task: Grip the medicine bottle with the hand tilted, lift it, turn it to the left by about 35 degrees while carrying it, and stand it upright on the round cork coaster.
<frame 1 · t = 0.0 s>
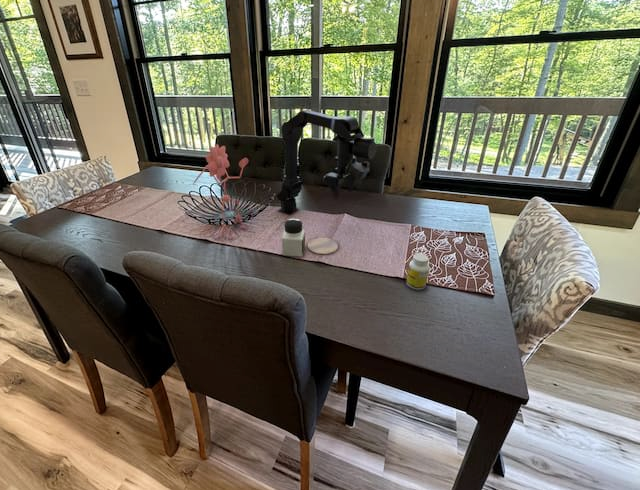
hand: (343, 195, 117), 15 cm above the table, tool pointing down, fingers open, 9 cm apart
coaster: (322, 246, 114), on the table
figurine: (225, 230, 128), on the table
supplement bottle: (415, 285, 93), on the table
medicine bottle: (294, 251, 112), on the table
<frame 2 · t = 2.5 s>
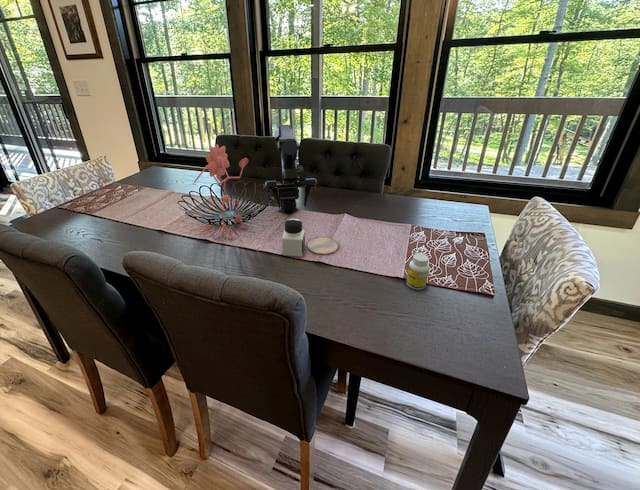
hand: (292, 207, 113), 13 cm above the table, tool tilted 45°, fingers open, 9 cm apart
nothing on the table moved.
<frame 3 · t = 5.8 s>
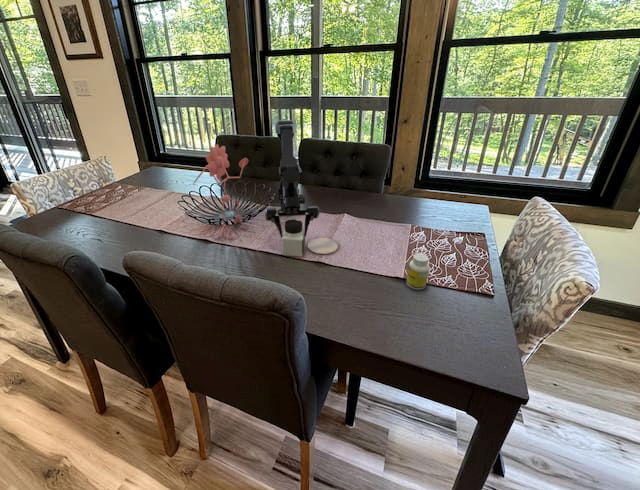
hand: (293, 236, 107), 7 cm above the table, tool tilted 45°, fingers closed on medicine bottle, 8 cm apart
medicine bottle: (294, 251, 112), on the table, touching gripper
everything else where it was.
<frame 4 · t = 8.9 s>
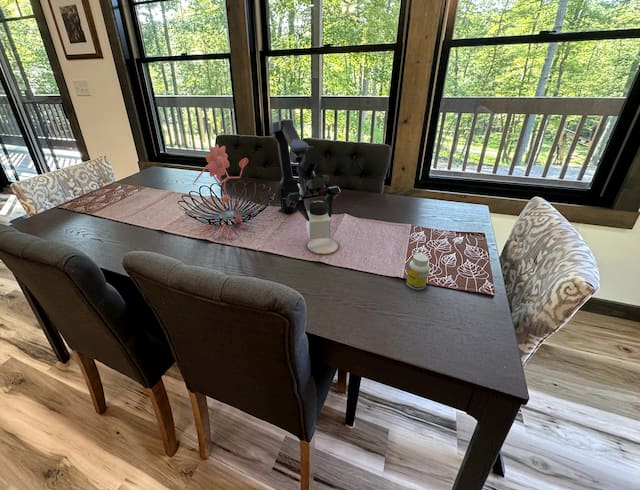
hand: (319, 218, 106), 12 cm above the table, tool tilted 45°, fingers closed on medicine bottle, 8 cm apart
medicine bottle: (317, 234, 111), point 5 cm above the table, touching gripper
everything else where it was.
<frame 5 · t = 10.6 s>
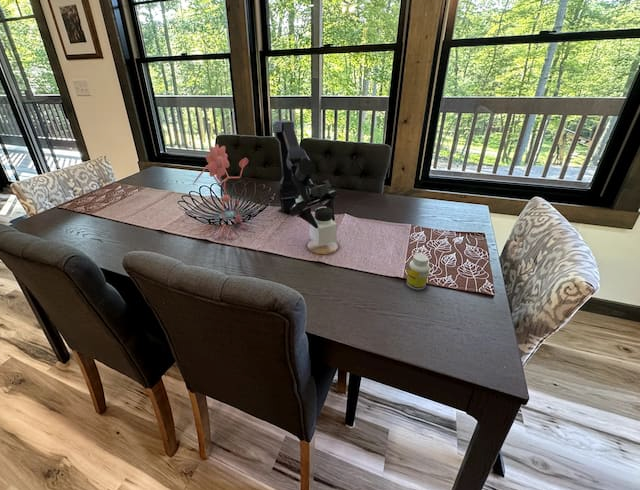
hand: (325, 224, 108), 10 cm above the table, tool tilted 45°, fingers closed on medicine bottle, 8 cm apart
medicine bottle: (322, 239, 113), point 3 cm above the table, touching gripper
everything else where it was.
when the fingers open (7 cm above the table, at t = 12.0 s): medicine bottle stays where it is, resting on coaster.
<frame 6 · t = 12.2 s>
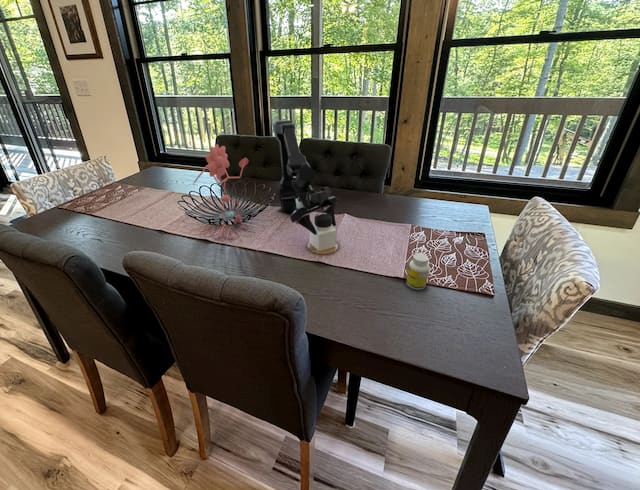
hand: (325, 230, 109), 7 cm above the table, tool tilted 45°, fingers open, 9 cm apart
medicine bottle: (322, 245, 114), resting on coaster
everything else where it was.
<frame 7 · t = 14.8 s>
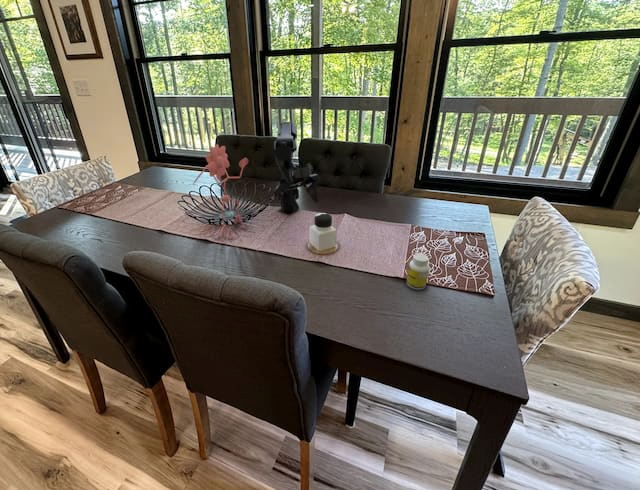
hand: (307, 205, 113), 14 cm above the table, tool tilted 45°, fingers open, 9 cm apart
nothing on the table moved.
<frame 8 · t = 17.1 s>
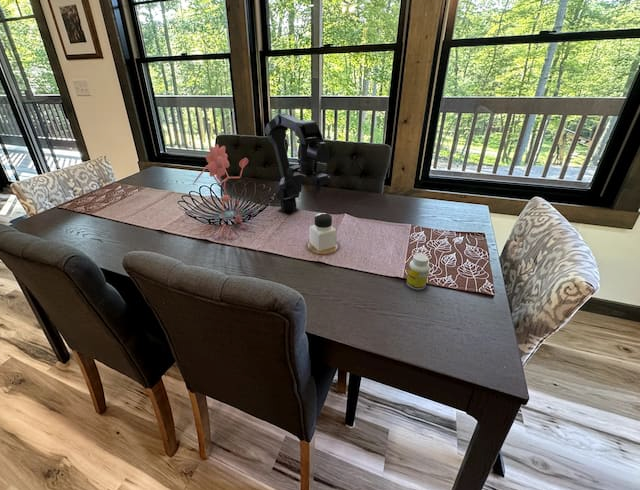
hand: (307, 195, 123), 13 cm above the table, tool pointing down, fingers open, 9 cm apart
nothing on the table moved.
at the end: medicine bottle 0.3 cm off-centre on the coaster, point 0.2 cm above the coaster's base; medicine bottle tilted 0°; the gripper is holding nothing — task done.
